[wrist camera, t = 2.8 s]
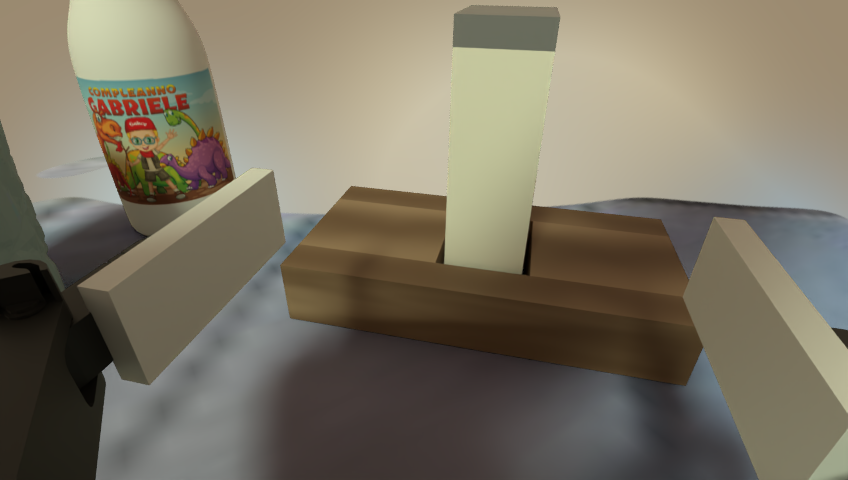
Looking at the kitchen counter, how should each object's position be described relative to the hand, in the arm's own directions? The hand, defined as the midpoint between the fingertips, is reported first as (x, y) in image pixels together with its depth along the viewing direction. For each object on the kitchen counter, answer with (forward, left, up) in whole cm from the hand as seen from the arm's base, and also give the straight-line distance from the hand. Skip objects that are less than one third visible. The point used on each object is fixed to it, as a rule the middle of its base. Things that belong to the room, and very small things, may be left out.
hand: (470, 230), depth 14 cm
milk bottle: (+23, +13, -10) cm, 29 cm away
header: (+8, -5, -10) cm, 14 cm away
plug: (+8, -5, -10) cm, 14 cm away
